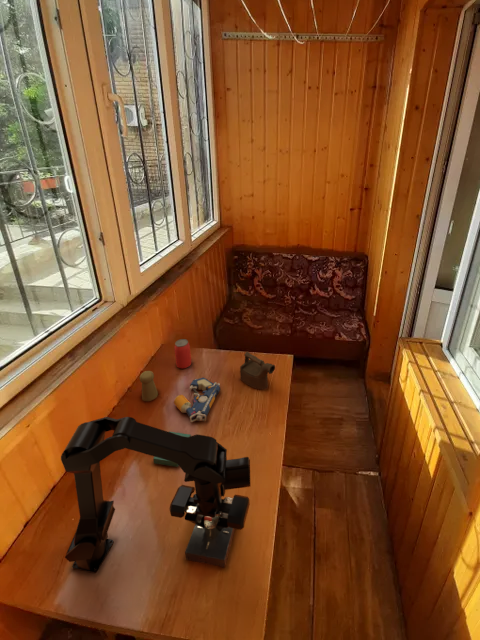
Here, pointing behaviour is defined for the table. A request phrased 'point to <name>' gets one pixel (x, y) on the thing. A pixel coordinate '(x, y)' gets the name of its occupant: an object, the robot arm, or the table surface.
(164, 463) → the green block
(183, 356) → the beer can
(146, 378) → the cork
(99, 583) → the table surface
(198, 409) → the toy gun
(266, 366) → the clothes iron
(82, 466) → the robot arm
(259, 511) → the table surface
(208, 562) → the black flat block
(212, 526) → the nozzle dial
